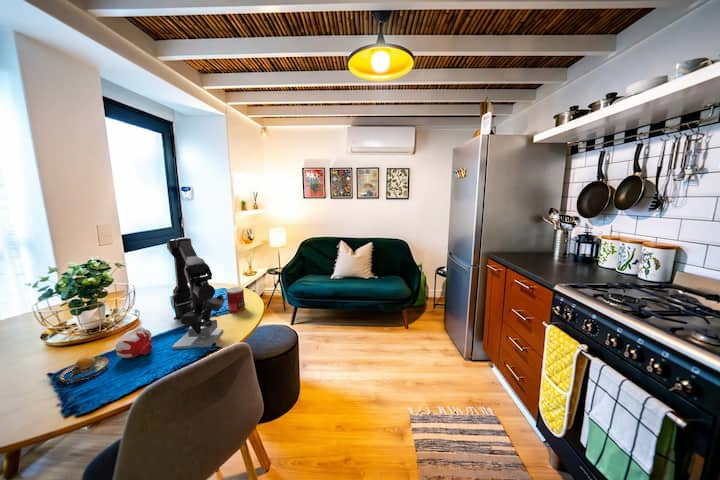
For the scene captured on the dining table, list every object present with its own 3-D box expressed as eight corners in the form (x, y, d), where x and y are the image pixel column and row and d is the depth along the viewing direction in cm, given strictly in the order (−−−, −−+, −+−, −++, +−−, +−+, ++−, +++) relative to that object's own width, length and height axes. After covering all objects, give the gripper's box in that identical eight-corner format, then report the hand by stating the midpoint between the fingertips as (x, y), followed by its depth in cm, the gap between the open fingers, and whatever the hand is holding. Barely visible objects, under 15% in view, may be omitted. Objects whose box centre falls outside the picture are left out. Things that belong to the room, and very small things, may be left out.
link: (188, 336, 102) (187, 328, 101) (197, 328, 109) (196, 320, 108) (209, 335, 103) (208, 327, 102) (217, 327, 110) (216, 319, 109)
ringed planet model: (108, 357, 95) (104, 338, 94) (113, 371, 87) (109, 351, 86) (58, 374, 86) (54, 353, 85) (59, 391, 78) (54, 369, 77)
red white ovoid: (140, 341, 104) (166, 352, 100) (105, 357, 94) (133, 370, 89) (139, 320, 102) (165, 331, 98) (103, 334, 92) (131, 347, 87)
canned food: (240, 312, 130) (239, 292, 128) (225, 312, 130) (223, 292, 128) (247, 306, 138) (246, 287, 136) (232, 306, 138) (231, 286, 136)
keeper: (172, 349, 100) (170, 337, 99) (189, 332, 111) (187, 322, 110) (210, 346, 101) (209, 335, 100) (223, 331, 113) (222, 320, 112)
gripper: (209, 301, 95) (213, 340, 97) (229, 284, 113) (232, 317, 116) (177, 302, 93) (182, 342, 96) (202, 285, 112) (206, 318, 114)
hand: (203, 329), depth 106 cm, fingers closed on link, 7 cm apart
